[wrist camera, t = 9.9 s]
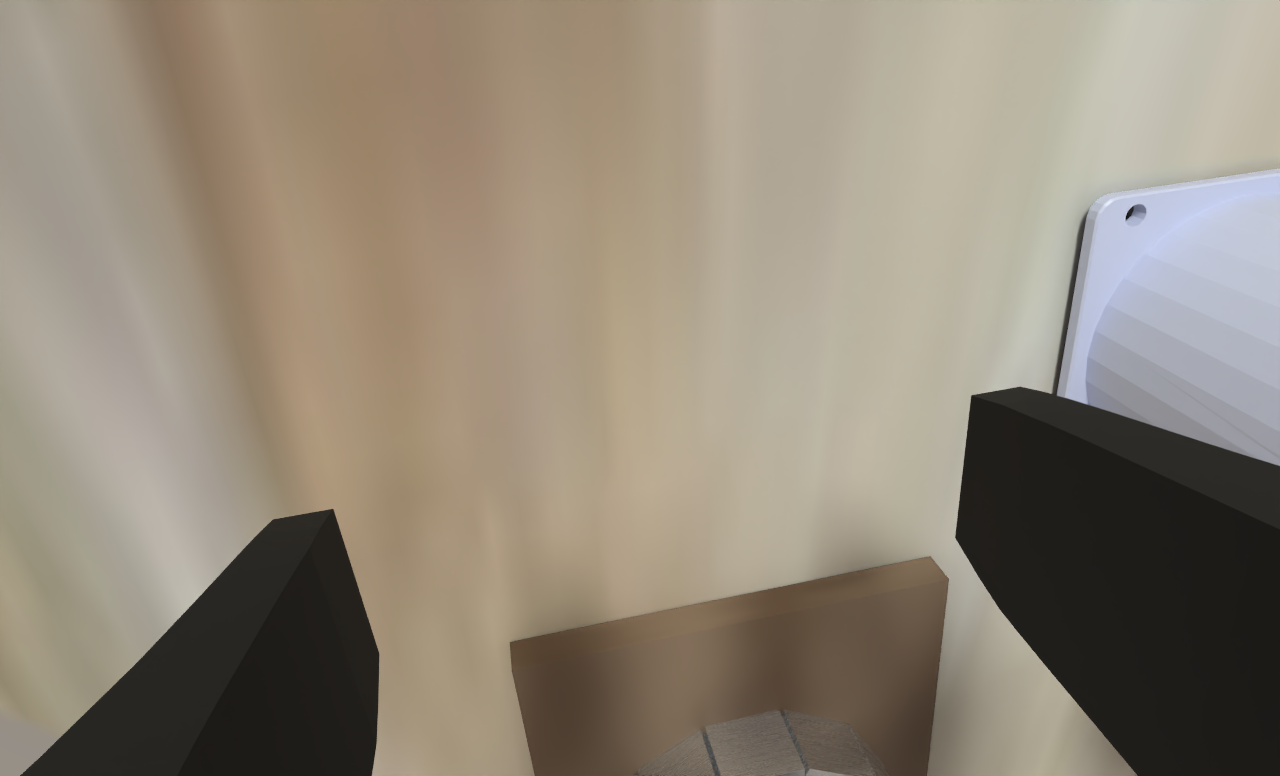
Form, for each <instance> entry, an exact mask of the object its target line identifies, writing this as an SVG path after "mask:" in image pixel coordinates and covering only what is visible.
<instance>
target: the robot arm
mask: <svg viewBox="0 0 1280 776" xmlns="http://www.w3.org/2000/svg"><path fill="white" fill-rule="evenodd" d="M1132 206H1134V211H1133V213H1132V215H1131V216H1130V217H1129V219H1128V220H1126V218H1125V217H1126V214H1127V212H1128V210H1129V209H1130V208H1131V207H1132ZM955 538H956V540H957V541H958V543H959V545H960V546H961V548H962V550H963V551H964V553H965V555H966V556H967V558H968V560H969V561H970V563H971V565H972V566H973V568H974V570H975V571H976V573H977V575H978V577H979V578H980V580H981V581H982V583H983V584H984V586H985V587H986V589H987V590H988V592H989V593H990V595H991V597H992V598H993V600H994V601H995V603H996V604H997V606H998V607H999V609H1000V610H1001V611H1002V613H1003V614H1004V615H1005V616H1006V618H1007V619H1008V620H1009V621H1010V623H1011V624H1012V625H1013V626H1014V628H1015V629H1016V630H1017V631H1018V633H1019V634H1020V635H1021V636H1022V637H1023V639H1024V640H1025V641H1026V642H1027V643H1028V645H1029V646H1030V647H1031V648H1032V650H1033V651H1034V652H1035V653H1036V654H1037V656H1038V657H1039V658H1040V659H1041V661H1042V662H1043V663H1044V664H1045V665H1046V667H1047V668H1048V669H1049V670H1050V671H1051V673H1052V674H1053V675H1054V676H1055V677H1056V679H1057V680H1058V681H1059V682H1060V683H1061V684H1062V686H1063V687H1064V688H1065V689H1066V690H1067V692H1068V693H1069V694H1070V695H1071V696H1072V698H1073V699H1074V700H1075V701H1076V702H1077V704H1078V705H1079V706H1080V707H1081V708H1082V710H1083V711H1084V712H1085V713H1086V714H1087V716H1088V717H1089V718H1090V719H1091V720H1092V721H1093V723H1094V724H1095V725H1096V726H1097V727H1098V729H1099V730H1100V731H1101V732H1102V733H1103V735H1104V736H1105V737H1106V738H1107V739H1108V741H1109V742H1110V743H1111V744H1112V745H1113V747H1114V748H1115V749H1116V750H1117V751H1118V753H1119V754H1120V755H1121V756H1122V757H1123V758H1124V760H1125V761H1126V762H1127V763H1128V764H1129V766H1130V767H1131V768H1132V769H1133V770H1134V772H1135V773H1136V774H1137V775H1138V776H1280V169H1273V170H1266V171H1259V172H1253V173H1246V174H1239V175H1232V176H1225V177H1218V178H1212V179H1205V180H1198V181H1191V182H1184V183H1177V184H1171V185H1164V186H1157V187H1150V188H1143V189H1136V190H1130V191H1123V192H1116V193H1109V194H1107V195H1104V196H1102V197H1100V198H1099V199H1098V200H1096V201H1095V202H1094V204H1093V205H1092V206H1091V208H1090V209H1089V212H1088V215H1087V218H1086V224H1085V230H1084V236H1083V242H1082V248H1081V254H1080V260H1079V266H1078V272H1077V278H1076V284H1075V290H1074V296H1073V302H1072V308H1071V314H1070V319H1069V325H1068V331H1067V337H1066V343H1065V349H1064V355H1063V361H1062V367H1061V373H1060V379H1059V385H1058V391H1057V395H1053V394H1049V393H1045V392H1042V391H1037V390H1032V389H1028V388H1023V387H1016V388H1011V389H1005V390H999V391H994V392H988V393H983V394H977V395H971V404H970V412H969V421H968V430H967V439H966V448H965V457H964V465H963V474H962V483H961V492H960V501H959V510H958V518H957V527H956V536H955ZM378 687H379V652H378V648H377V645H376V642H375V639H374V636H373V633H372V630H371V626H370V623H369V620H368V617H367V614H366V611H365V608H364V604H363V601H362V598H361V595H360V592H359V589H358V586H357V582H356V579H355V576H354V573H353V570H352V567H351V563H350V560H349V557H348V554H347V551H346V548H345V545H344V541H343V538H342V535H341V532H340V529H339V526H338V523H337V519H336V516H335V513H334V510H333V509H330V510H324V511H319V512H313V513H308V514H302V515H296V516H291V517H285V518H279V519H274V520H272V521H271V522H270V523H269V524H268V525H267V526H266V527H265V528H264V529H263V530H262V531H261V532H260V533H259V534H258V535H257V536H256V537H255V538H254V539H253V540H252V541H251V542H250V543H249V544H248V545H247V546H246V547H245V548H244V549H243V550H242V552H241V553H240V554H239V555H238V556H237V557H236V558H235V559H234V560H233V561H232V562H231V563H230V564H229V566H228V567H227V568H226V569H225V570H224V571H223V572H222V573H221V574H220V575H219V576H218V577H217V579H216V580H215V581H214V582H213V583H212V584H211V585H210V586H209V587H208V588H207V589H206V590H205V591H204V593H203V594H202V595H201V596H200V597H199V598H198V599H197V600H196V601H195V602H194V603H193V604H192V605H191V606H190V607H189V609H188V610H187V611H186V612H185V613H184V614H183V615H182V616H181V617H180V618H179V619H178V620H177V621H176V622H175V623H174V624H173V625H172V626H171V628H170V629H169V630H168V631H167V632H166V633H165V634H164V635H163V636H162V637H161V638H160V639H159V640H158V641H157V642H156V643H155V644H154V645H153V647H152V648H151V649H150V650H149V651H148V652H147V653H146V654H145V655H144V656H143V657H142V658H141V659H140V660H139V661H138V662H137V663H136V664H135V665H134V666H133V667H132V668H131V669H130V670H129V671H128V672H127V673H126V674H125V675H124V676H123V677H122V678H121V679H120V680H119V681H118V682H117V683H116V684H115V685H114V686H113V687H112V688H111V689H110V690H109V691H108V692H107V693H106V694H105V695H104V696H103V697H102V698H100V699H99V700H98V701H97V702H96V703H95V704H94V705H93V706H92V707H91V708H90V709H89V710H88V711H87V712H86V713H85V714H84V715H83V716H82V717H81V718H80V719H79V720H78V721H77V722H76V723H75V724H74V725H73V726H72V727H71V728H70V729H69V730H68V731H67V732H66V733H65V734H64V735H63V736H61V737H60V738H59V739H58V740H57V741H56V742H55V743H54V744H53V745H52V746H51V747H50V748H49V749H48V750H47V751H46V752H45V753H44V754H43V755H42V756H41V757H40V758H39V759H38V760H37V761H36V762H34V764H32V765H31V766H30V767H29V768H28V769H27V770H26V771H25V772H24V773H23V774H21V775H20V776H372V770H373V764H374V757H375V750H376V742H377V718H378Z"/></svg>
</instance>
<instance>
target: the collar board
mask: <svg viewBox="0 0 1280 776" xmlns="http://www.w3.org/2000/svg"><path fill="white" fill-rule="evenodd" d="M948 582H949V579H948V577H947V576H946V575H945V574H944V573H943V571H942V570H941V569H940V568H939V566H938V565H937V564H936V563H935V561H934V560H933V559H932V558H931V557H925V558H920V559H916V560H911V561H906V562H901V563H896V564H891V565H886V566H881V567H876V568H872V569H867V570H862V571H857V572H852V573H847V574H842V575H837V576H832V577H827V578H823V579H818V580H813V581H808V582H803V583H798V584H793V585H788V586H783V587H778V588H774V589H769V590H764V591H759V592H754V593H749V594H744V595H739V596H734V597H729V598H725V599H720V600H715V601H710V602H705V603H700V604H695V605H690V606H685V607H680V608H676V609H671V610H666V611H661V612H656V613H651V614H646V615H641V616H636V617H631V618H627V619H622V620H617V621H612V622H607V623H602V624H597V625H592V626H587V627H582V628H578V629H573V630H568V631H563V632H558V633H553V634H548V635H543V636H538V637H533V638H529V639H524V640H519V641H514V642H510V651H511V665H512V673H513V678H514V682H515V687H516V691H517V696H518V701H519V705H520V710H521V714H522V719H523V723H524V728H525V733H526V737H527V742H528V746H529V751H530V755H531V760H532V764H533V769H534V774H535V776H927V770H928V761H929V752H930V743H931V734H932V725H933V716H934V707H935V698H936V689H937V680H938V671H939V662H940V653H941V644H942V635H943V627H944V618H945V609H946V600H947V591H948Z"/></svg>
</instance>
